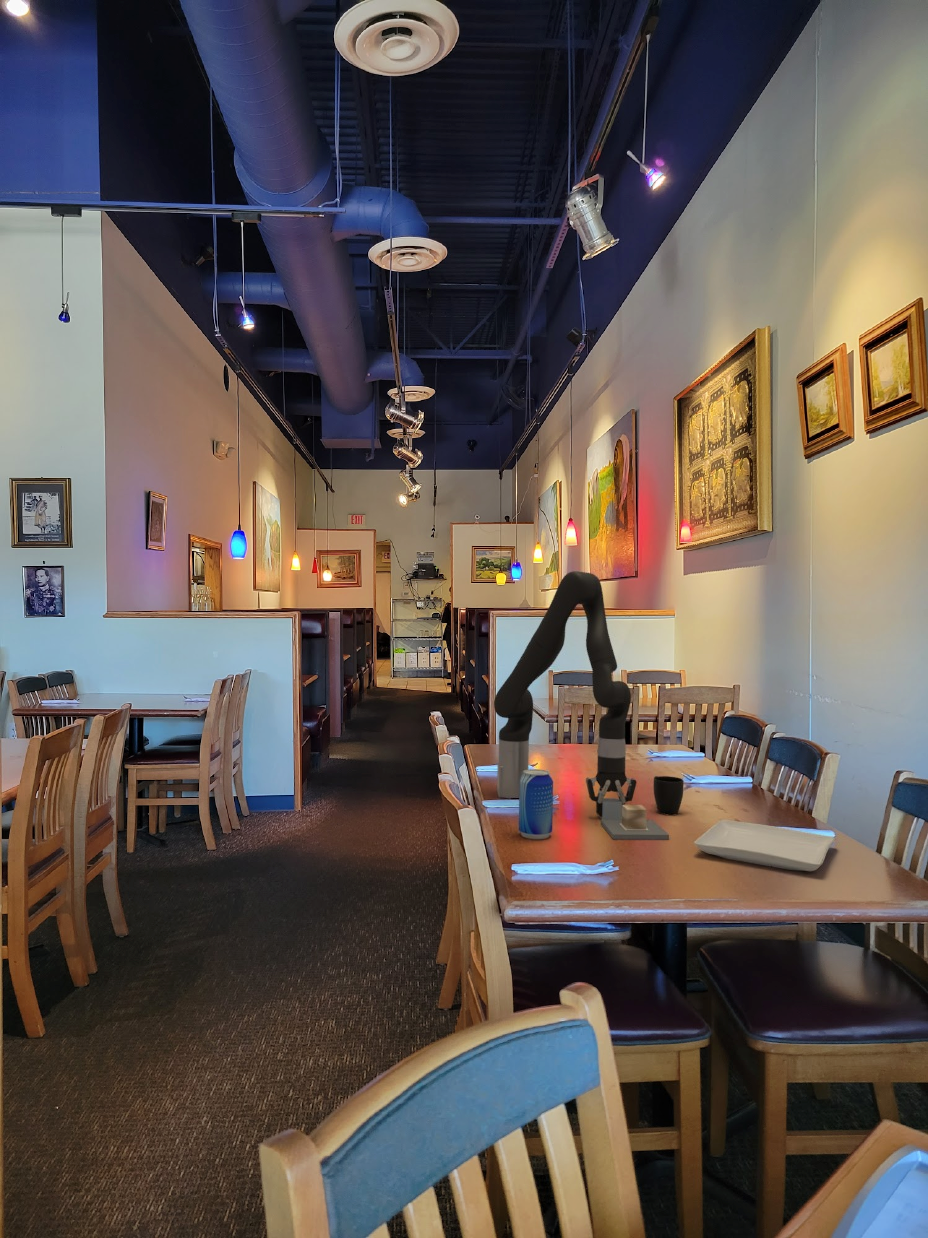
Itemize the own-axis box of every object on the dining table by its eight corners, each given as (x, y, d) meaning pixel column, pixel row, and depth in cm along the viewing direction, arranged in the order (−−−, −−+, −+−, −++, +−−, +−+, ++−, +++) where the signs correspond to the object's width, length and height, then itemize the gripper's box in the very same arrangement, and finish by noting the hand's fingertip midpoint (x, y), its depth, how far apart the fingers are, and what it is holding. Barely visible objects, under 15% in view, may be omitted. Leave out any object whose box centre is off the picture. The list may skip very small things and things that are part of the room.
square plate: (821, 881, 163) (821, 863, 163) (691, 858, 178) (691, 841, 178) (836, 850, 186) (836, 834, 186) (720, 832, 201) (720, 817, 201)
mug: (669, 805, 227) (669, 773, 227) (688, 815, 215) (688, 781, 215) (643, 806, 225) (643, 773, 225) (660, 816, 214) (661, 782, 214)
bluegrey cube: (603, 821, 208) (603, 802, 208) (599, 816, 213) (599, 798, 213) (621, 821, 208) (621, 802, 208) (617, 816, 213) (617, 798, 213)
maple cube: (626, 829, 195) (627, 809, 195) (621, 824, 200) (622, 804, 200) (646, 829, 195) (646, 809, 195) (640, 824, 200) (641, 805, 200)
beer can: (530, 842, 187) (531, 776, 187) (512, 833, 194) (513, 769, 194) (558, 838, 191) (559, 773, 191) (540, 829, 198) (541, 767, 198)
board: (613, 839, 190) (613, 834, 190) (600, 824, 204) (600, 819, 204) (669, 839, 191) (669, 834, 191) (652, 824, 205) (652, 819, 205)
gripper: (588, 756, 206) (587, 819, 206) (641, 757, 207) (640, 820, 207) (582, 751, 214) (581, 812, 214) (633, 752, 215) (632, 813, 215)
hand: (610, 816), depth 210 cm, fingers closed on bluegrey cube, 5 cm apart
